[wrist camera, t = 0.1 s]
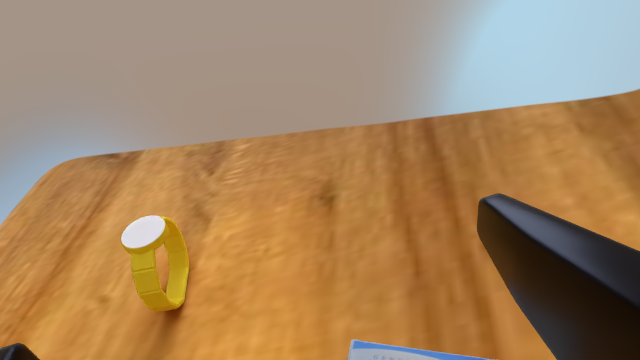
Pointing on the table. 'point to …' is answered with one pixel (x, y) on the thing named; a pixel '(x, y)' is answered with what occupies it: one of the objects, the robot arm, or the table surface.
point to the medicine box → (398, 353)
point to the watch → (142, 245)
